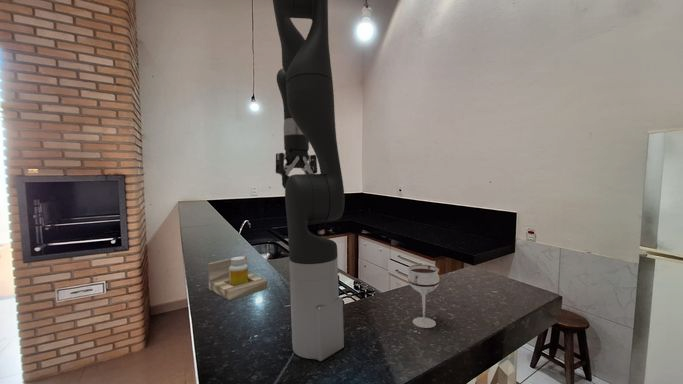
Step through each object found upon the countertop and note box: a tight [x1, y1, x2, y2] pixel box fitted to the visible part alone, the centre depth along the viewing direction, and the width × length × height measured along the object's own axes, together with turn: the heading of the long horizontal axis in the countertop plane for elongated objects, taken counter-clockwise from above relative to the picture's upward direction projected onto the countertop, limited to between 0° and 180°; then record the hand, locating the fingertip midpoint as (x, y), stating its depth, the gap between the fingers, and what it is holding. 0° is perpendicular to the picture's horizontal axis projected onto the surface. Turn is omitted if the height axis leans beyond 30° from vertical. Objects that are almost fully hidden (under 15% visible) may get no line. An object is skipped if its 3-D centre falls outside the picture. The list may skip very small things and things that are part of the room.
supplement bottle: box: [229, 256, 249, 287], centre depth 89 cm, size 5×5×10 cm
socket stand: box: [207, 255, 268, 301], centre depth 90 cm, size 14×12×8 cm
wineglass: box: [407, 264, 440, 329], centre depth 65 cm, size 7×7×12 cm
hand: (298, 187), depth 92 cm, fingers open, 8 cm apart
